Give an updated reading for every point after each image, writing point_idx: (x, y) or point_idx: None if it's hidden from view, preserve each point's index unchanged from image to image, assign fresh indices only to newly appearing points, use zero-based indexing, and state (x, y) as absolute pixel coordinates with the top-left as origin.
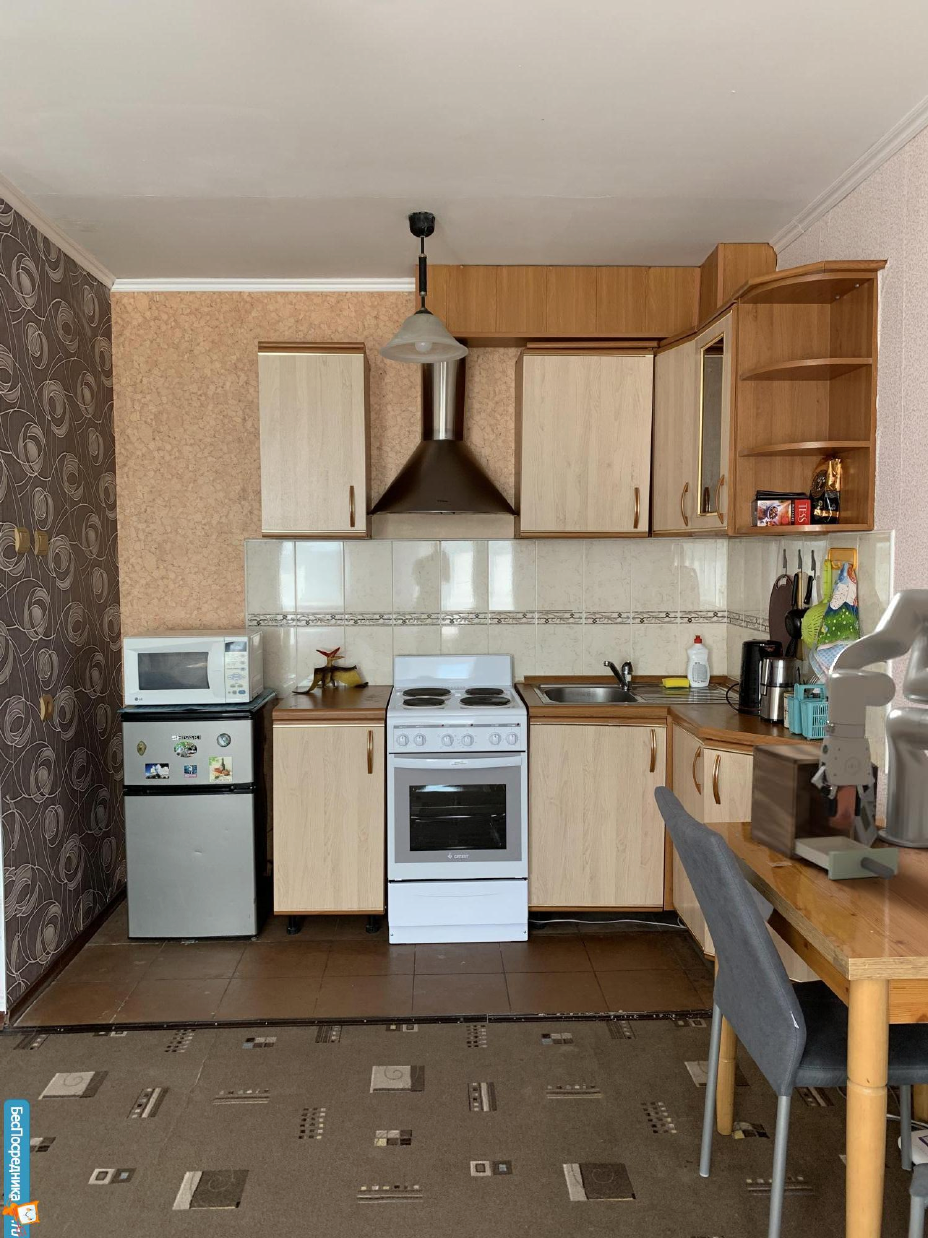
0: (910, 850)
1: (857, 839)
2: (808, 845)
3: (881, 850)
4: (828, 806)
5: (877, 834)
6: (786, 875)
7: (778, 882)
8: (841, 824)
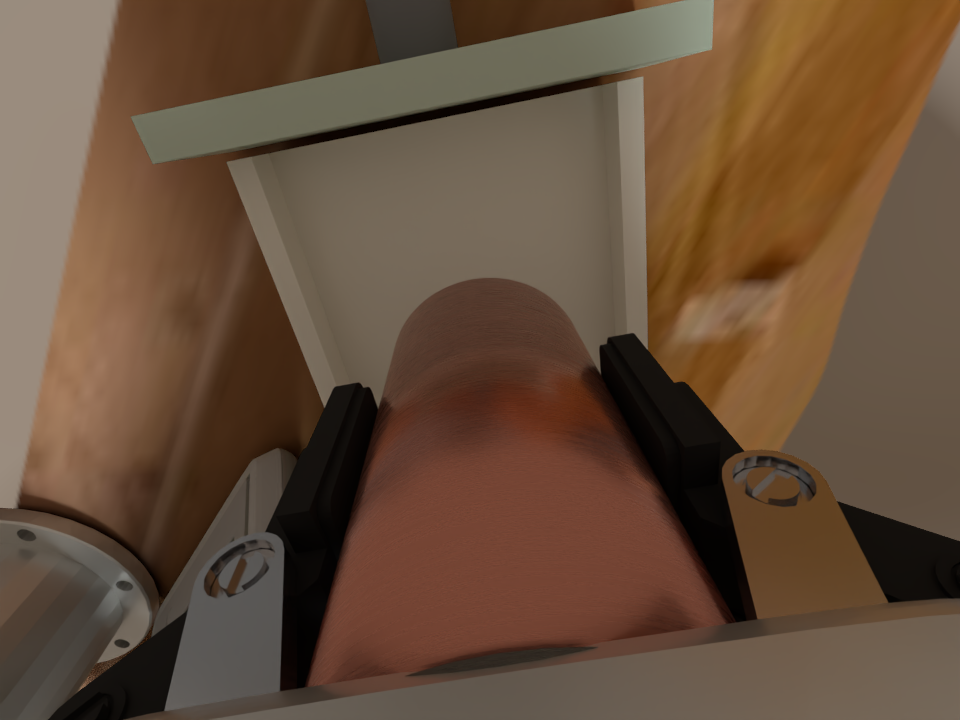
0: (57, 486)
1: None
2: None
3: (279, 86)
4: (709, 411)
5: (159, 608)
6: (819, 136)
7: (947, 9)
8: (538, 299)
